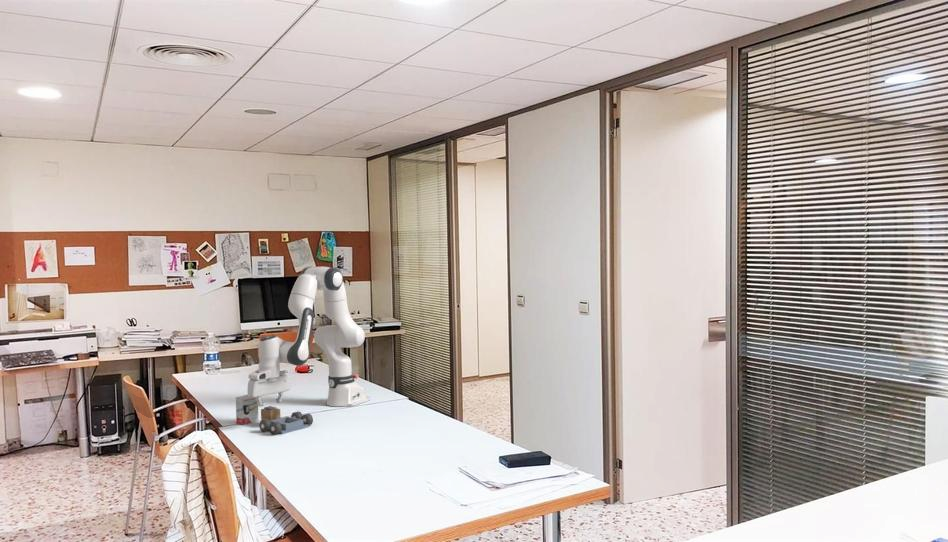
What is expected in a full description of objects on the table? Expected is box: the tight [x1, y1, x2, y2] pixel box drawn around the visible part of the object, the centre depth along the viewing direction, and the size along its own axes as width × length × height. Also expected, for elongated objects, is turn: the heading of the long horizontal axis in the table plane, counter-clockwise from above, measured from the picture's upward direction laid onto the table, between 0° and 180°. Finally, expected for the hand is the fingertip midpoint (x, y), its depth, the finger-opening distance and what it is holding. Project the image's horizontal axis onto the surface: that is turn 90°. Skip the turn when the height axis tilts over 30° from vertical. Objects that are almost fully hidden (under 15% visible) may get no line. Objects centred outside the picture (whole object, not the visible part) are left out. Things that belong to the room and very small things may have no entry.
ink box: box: [235, 394, 259, 426], centre depth 303 cm, size 9×5×12 cm, turn 143°
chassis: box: [259, 410, 314, 436], centre depth 291 cm, size 19×12×5 cm, turn 143°
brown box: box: [260, 405, 282, 421], centre depth 298 cm, size 5×7×8 cm
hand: (270, 404), depth 297 cm, fingers open, 8 cm apart
